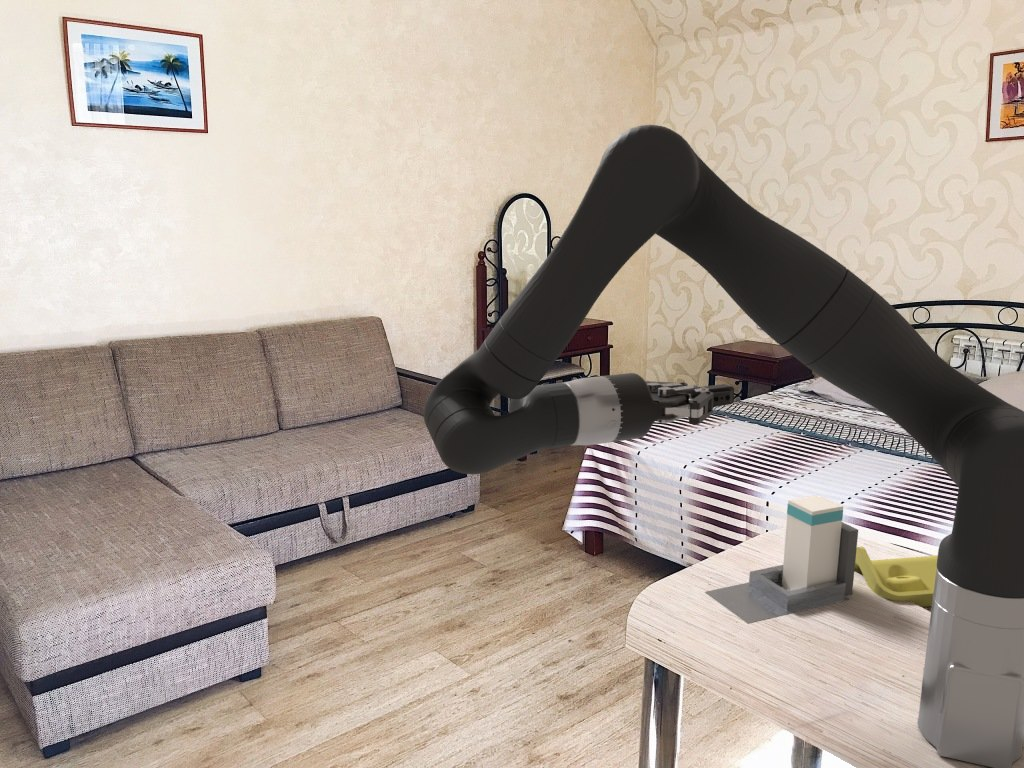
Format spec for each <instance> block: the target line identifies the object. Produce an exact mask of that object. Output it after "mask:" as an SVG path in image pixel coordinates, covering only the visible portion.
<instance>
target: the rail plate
mask: <svg viewBox="0 0 1024 768" xmlns="http://www.w3.org/2000/svg"><path fill="white" fill-rule="evenodd" d="M782 576H783V564H781V565H780V564H779V565H776V566H771V567H766V568H762V569H761V568H760V569H756V570H752V571H749V581H748V582H745V583H739V584H736V585H731V586H724V587H721V588H717V589H711V590H707V591H704V593H705V595H708V597H710V598H712V599H713V600H714V601H716V602H717V603H718V604H720V605H722V606H723V608H725V609H727V611H729V612H731V613H732V614H734V615H735V616H736V617H738V618H739V619H741V620H742V621H744V623H746V624H751V623H752V624H753V623H755V622H760V621H765V620H769V619H773V618H777V617H781V616H786V615H791V614H795V613H798V612H803V611H806V610H807V611H808V610H811V609H816V608H820V607H824V606H829V605H833V604H837V603H841V602H845V601H850V599H849V598H847V597H846V596H845V588H846V583H845V582H844V581H842V580H837V581H832V582H828V583H823V584H819V585H814V586H810V587H805V588H801V589H796V590H790V589H788V588H787V587H785V586H783V585H782Z"/></svg>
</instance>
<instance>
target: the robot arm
mask: <svg viewBox="0 0 1024 768" xmlns="http://www.w3.org/2000/svg"><path fill="white" fill-rule="evenodd" d="M654 235H657V236H658V237H660V238H662V239H663V240H664V241H666V242H668V243H669V244H671V245H672V246H673V247H675V248H676V249H678V250H679V251H680V252H682V253H683V254H685V255H686V256H687V257H689V258H691V259H692V260H693V261H694V262H696V263H697V264H699V266H701V267H702V269H704V270H705V271H706V272H707V273H708V274H709V275H710V276H711V277H712V278H713V279H714V280H715V281H716V282H717V283H718V285H719V286H720V287H721V288H722V289H723V290H724V291H725V293H726V294H727V295H728V296H729V297H730V298H731V299H732V300H733V302H734V303H736V305H737V306H738V307H739V308H740V309H741V310H742V311H743V312H744V313H745V314H746V316H747V317H749V318H750V319H751V320H752V321H753V322H754V323H755V324H756V325H757V326H758V327H759V328H760V329H761V330H762V332H764V333H765V334H766V335H767V336H769V337H770V338H771V339H772V340H773V341H774V342H775V343H777V344H778V345H779V347H781V348H783V349H784V350H786V351H787V353H789V354H790V355H791V356H792V357H794V358H795V359H797V361H799V362H800V363H801V364H802V365H804V366H805V367H807V368H808V369H809V370H811V371H812V372H814V373H815V374H817V375H818V376H819V377H821V378H822V379H824V380H826V381H827V382H828V383H830V384H832V385H833V386H835V387H836V388H838V389H840V390H842V391H843V392H845V393H847V394H849V395H850V396H852V397H855V398H856V399H858V400H860V401H862V402H864V403H865V404H867V405H869V406H871V407H873V408H874V409H877V410H878V411H879V412H881V413H883V414H885V416H887V417H888V418H890V419H891V420H892V421H894V422H895V423H896V424H897V425H898V426H900V428H902V429H903V430H904V431H905V432H906V433H907V434H908V435H909V436H910V437H912V438H913V439H914V441H915V442H917V443H918V444H919V445H920V446H921V447H922V448H923V449H924V450H925V451H926V452H927V453H928V454H929V455H930V456H931V457H932V459H934V460H935V462H936V463H937V464H939V465H940V467H941V468H942V469H943V470H944V471H945V473H946V474H947V475H948V477H949V478H950V479H951V481H952V482H953V483H954V484H955V485H956V486H957V488H958V492H957V497H956V505H955V512H954V518H953V523H952V530H951V533H950V534H948V535H946V536H945V537H944V538H942V539H941V541H940V543H939V546H938V551H937V555H938V558H937V568H936V577H935V585H934V593H933V600H932V606H931V609H930V615H929V616H930V617H929V626H928V634H927V639H926V640H927V643H926V651H925V658H924V664H923V665H924V667H923V674H922V675H923V676H922V681H921V683H922V684H921V692H920V700H919V701H920V702H919V709H918V717H917V727H918V729H919V732H920V733H921V735H922V736H923V738H925V740H926V741H927V742H928V743H930V744H931V745H932V746H933V747H935V749H936V754H937V755H938V756H940V757H944V758H948V759H952V760H958V761H963V762H967V763H972V764H976V765H980V766H984V767H985V766H986V767H990V768H1012V766H1013V765H1012V764H1013V763H1015V762H1016V761H1018V760H1019V758H1020V757H1021V756H1022V753H1023V747H1024V410H1022V409H1020V408H1018V407H1016V406H1014V405H1013V404H1011V403H1008V402H1007V401H1006V400H1003V399H1002V398H1001V397H998V396H997V395H995V394H993V393H992V392H990V391H988V389H985V388H984V387H982V386H981V385H979V384H978V383H976V382H974V381H973V380H972V379H970V378H969V377H967V376H966V375H964V374H963V373H961V372H960V371H959V370H957V369H956V368H954V367H953V366H951V364H949V363H948V362H947V361H945V359H943V358H942V357H941V356H939V354H937V353H936V352H935V351H934V349H933V348H932V347H931V346H930V345H929V344H928V343H927V342H926V341H925V339H924V338H923V337H922V336H921V335H920V334H919V332H918V331H917V330H916V329H915V328H914V327H913V326H912V324H911V323H910V322H909V321H908V320H907V319H906V318H905V317H904V316H902V314H901V313H900V312H899V311H898V310H897V309H896V308H895V307H894V306H893V305H892V304H890V302H888V301H887V299H885V298H884V297H883V296H882V295H881V294H880V293H878V292H877V291H876V290H875V289H873V288H872V287H871V286H870V285H869V284H868V283H866V281H863V280H862V278H860V277H858V276H857V275H856V274H855V273H854V272H853V271H851V270H850V269H848V268H847V267H846V266H845V265H843V264H842V263H841V262H839V261H838V260H837V259H835V258H833V257H832V256H830V255H829V254H828V253H826V252H825V251H824V250H822V249H820V248H819V247H817V246H816V245H814V244H813V243H811V242H810V241H808V240H806V239H805V238H804V237H801V236H800V235H799V234H797V233H795V232H794V231H792V230H791V229H788V228H786V227H785V226H783V225H781V224H780V223H778V222H776V221H774V220H773V219H771V218H770V217H768V216H766V215H764V213H762V212H760V211H758V210H757V209H756V208H755V207H753V206H752V205H750V204H749V203H747V201H745V200H744V199H743V198H742V197H741V196H740V195H738V194H737V193H736V192H735V191H734V190H733V189H732V188H731V187H730V186H729V185H728V184H727V183H725V181H723V180H722V179H721V177H719V176H718V175H717V174H716V173H715V172H714V171H713V170H712V169H711V167H709V166H708V165H707V164H706V163H705V162H704V160H702V158H700V156H699V155H698V154H697V153H696V152H695V150H694V149H693V148H692V146H691V145H690V144H689V143H688V141H687V140H686V139H685V138H684V137H683V136H681V134H680V133H678V132H676V131H675V130H672V129H671V128H668V127H666V126H663V125H656V124H643V125H642V124H641V125H638V126H635V127H632V128H629V129H628V130H624V131H623V132H621V133H620V134H619V135H618V136H617V137H615V138H614V139H613V140H612V141H611V142H610V143H609V144H608V146H607V148H606V149H605V150H604V152H603V154H602V156H601V159H600V163H599V165H598V167H597V169H596V170H595V172H594V175H593V177H592V180H591V182H590V183H589V186H588V188H587V190H586V192H585V194H584V195H583V197H582V200H581V201H580V203H579V205H578V207H577V209H576V211H575V213H574V215H573V217H572V218H571V220H570V221H569V223H568V225H567V227H566V229H565V230H564V231H563V233H562V235H561V236H560V238H559V239H558V241H557V243H556V244H555V246H554V247H553V248H552V249H551V251H550V253H549V254H548V256H546V257H545V258H546V259H545V260H544V261H543V263H542V264H541V265H540V267H539V268H538V269H537V270H536V272H535V273H533V275H532V277H531V278H530V279H529V281H528V282H527V283H526V284H525V286H524V287H523V289H522V290H521V291H520V292H519V294H518V295H516V297H515V299H513V301H512V302H511V304H510V305H509V306H508V308H507V309H506V310H505V312H504V313H503V314H502V316H500V318H499V320H498V322H497V323H496V324H495V326H493V328H492V330H491V331H490V332H489V334H488V335H487V337H486V338H485V339H484V341H483V342H482V343H481V345H480V346H479V348H478V349H477V350H476V351H475V352H473V353H472V354H471V355H469V356H468V357H467V358H465V359H464V360H463V361H461V362H460V363H459V364H458V365H457V366H456V367H454V368H453V369H452V370H451V371H449V373H446V375H445V376H444V377H442V379H441V380H439V381H438V382H437V383H436V384H435V385H434V386H433V388H432V390H431V391H430V393H429V395H428V396H427V398H426V401H425V404H424V407H423V421H424V424H425V426H426V428H427V431H428V433H429V435H430V437H431V438H430V439H432V441H433V443H434V446H435V450H436V451H437V453H438V455H439V458H440V459H441V461H442V462H443V465H445V466H446V467H447V468H448V469H450V470H452V471H454V472H456V473H460V474H465V475H480V474H485V473H488V472H491V471H493V470H496V469H498V468H500V467H502V466H505V465H506V464H509V463H511V462H514V461H517V460H519V459H522V458H523V457H526V456H527V455H529V454H532V453H534V452H536V451H539V450H548V449H555V448H564V447H569V446H592V445H601V444H608V443H614V442H615V443H616V442H622V441H629V440H637V439H642V438H643V437H645V436H646V435H647V434H648V433H649V432H650V430H651V428H652V426H653V424H655V422H657V423H659V424H668V423H673V422H674V421H675V420H679V419H686V418H687V420H688V423H689V424H690V425H692V426H696V425H699V424H701V423H702V422H704V421H705V420H707V419H708V418H709V417H710V416H712V415H713V414H714V413H713V411H714V408H715V407H720V406H721V407H722V406H728V405H730V406H731V405H732V404H733V403H734V402H735V388H734V386H731V385H728V384H725V383H722V384H714V385H705V386H704V385H703V386H701V385H698V384H691V385H688V383H687V382H685V381H681V382H675V381H674V382H672V381H671V382H670V381H648V380H645V379H644V378H643V377H642V376H641V375H639V374H637V373H634V372H628V373H620V374H617V373H616V374H610V375H600V376H592V377H589V376H588V377H581V378H576V379H573V380H570V381H564V382H557V383H548V384H539V383H540V382H541V380H542V379H543V378H544V376H545V375H546V374H547V373H548V371H550V369H551V368H552V366H553V365H554V363H555V362H556V361H557V359H559V357H560V356H561V354H562V353H563V351H564V350H565V349H566V348H567V346H568V344H569V343H570V341H572V339H573V338H574V335H575V334H576V333H577V331H578V330H579V328H580V327H581V326H582V324H583V322H584V321H585V319H586V317H587V316H588V315H589V312H590V311H591V310H592V308H593V307H594V304H596V302H597V300H598V299H599V297H600V296H601V294H602V293H603V291H604V290H605V289H606V287H607V286H608V285H609V283H610V282H611V281H612V280H613V279H614V277H615V276H616V275H617V274H618V272H619V271H621V269H622V268H623V267H624V266H625V264H626V263H628V261H629V260H630V259H631V258H632V257H633V256H634V255H635V253H637V252H638V251H639V249H640V248H642V247H643V246H644V245H645V244H646V243H647V242H649V240H650V239H651V238H652V237H654ZM499 395H501V396H502V397H504V398H507V399H510V402H509V405H508V406H509V407H508V413H506V414H502V415H501V414H500V415H495V413H494V411H493V409H492V408H491V404H492V402H493V401H494V399H495V398H497V396H499Z"/></svg>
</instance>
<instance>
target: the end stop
mask: <svg viewBox="0 0 1024 768" xmlns="http://www.w3.org/2000/svg"><path fill="white" fill-rule="evenodd" d="M858 534H859V529H857V528H856V527H854V526H851V525H849V524H848V523H845V522H843V521H842V525H841V536H840V547H839V558H838V569H837V580H842V581H844V582H845V583H846V588H845V597H848V596H852V595H853V590H854V589H853V588H854V578H855V571H854V570H855V560H856V549H857V547H858V538H859V535H858ZM837 580H836V581H837Z"/></svg>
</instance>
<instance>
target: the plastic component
mask: <svg viewBox="0 0 1024 768" xmlns="http://www.w3.org/2000/svg"><path fill="white" fill-rule="evenodd" d="M937 558H938V554H937V555H927V556H926V555H925V556H913V557H910V556H909V557H897V558H889V559H888V558H887V559H872V560H871V558H870V556H869V554H868V552H867V550H866V547H864V546H857V549H856V560H855V570H854V573H857V574H859V575H860V576H863V577H864V580H865V582H866V584H867V586H868V588H869V589H870V590H871V591H872V592H873V593H874V594H876V595H877V596H879V597H881V598H884V599H887V600H889V601H890V600H891V601H896V602H897V601H898V602H899V601H901V602H902V601H903V602H904V601H905V602H911V603H912V604H915V605H916V606H918V607H920V608H926V607H932V600H933V593H934V585H935V577H936V568H937Z"/></svg>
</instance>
